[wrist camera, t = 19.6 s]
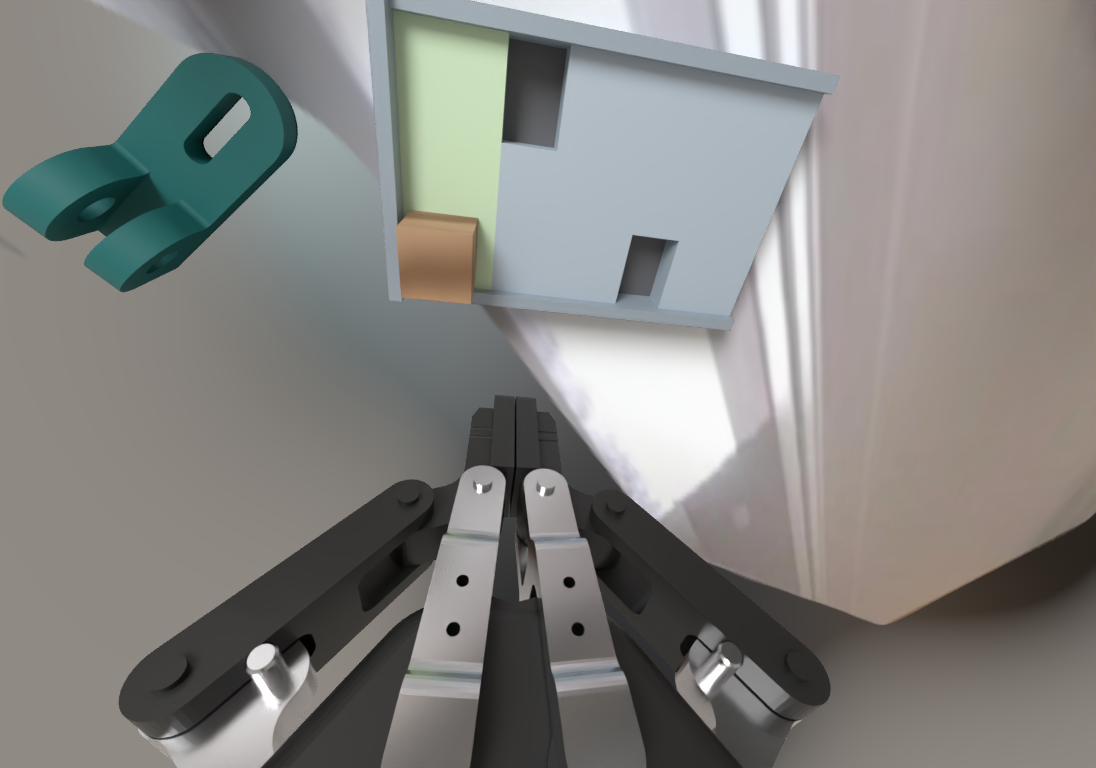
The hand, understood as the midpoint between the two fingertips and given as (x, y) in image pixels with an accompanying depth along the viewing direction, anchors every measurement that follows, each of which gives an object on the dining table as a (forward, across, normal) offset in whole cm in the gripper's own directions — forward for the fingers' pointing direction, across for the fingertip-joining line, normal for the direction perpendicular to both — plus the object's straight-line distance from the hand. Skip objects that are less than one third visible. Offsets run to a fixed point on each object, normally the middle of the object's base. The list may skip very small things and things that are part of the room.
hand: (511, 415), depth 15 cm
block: (+22, +5, +1) cm, 22 cm away
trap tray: (+25, -6, -4) cm, 26 cm away
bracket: (+25, +24, -2) cm, 35 cm away
